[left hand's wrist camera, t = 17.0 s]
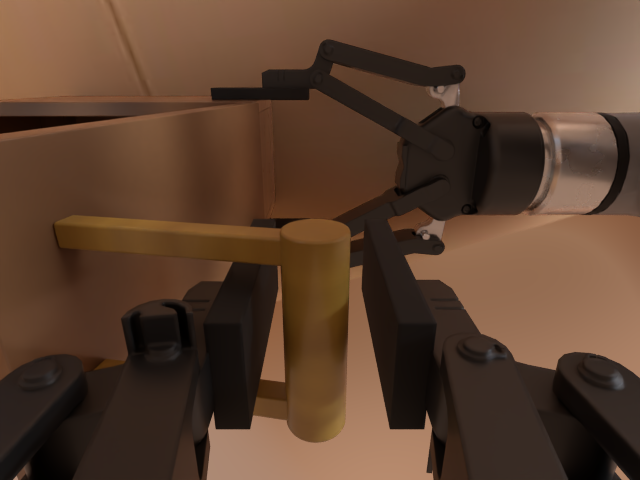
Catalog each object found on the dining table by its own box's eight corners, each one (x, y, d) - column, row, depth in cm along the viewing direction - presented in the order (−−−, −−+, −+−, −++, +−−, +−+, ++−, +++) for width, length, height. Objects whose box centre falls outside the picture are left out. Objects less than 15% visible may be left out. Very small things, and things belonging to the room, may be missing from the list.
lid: (25, 501, 11) (329, 566, 9) (-107, 147, 8) (334, 162, 6) (252, 249, 27) (376, 258, 26) (243, 102, 24) (385, 103, 22)
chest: (89, 203, 38) (6, 247, 28) (67, 96, 34) (-38, 102, 24) (275, 202, 38) (260, 246, 28) (271, 96, 35) (252, 102, 24)
